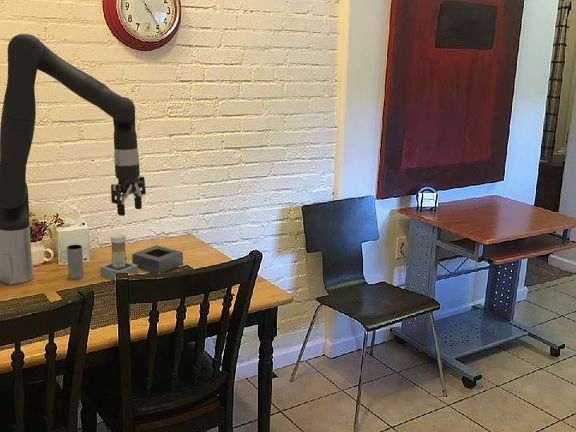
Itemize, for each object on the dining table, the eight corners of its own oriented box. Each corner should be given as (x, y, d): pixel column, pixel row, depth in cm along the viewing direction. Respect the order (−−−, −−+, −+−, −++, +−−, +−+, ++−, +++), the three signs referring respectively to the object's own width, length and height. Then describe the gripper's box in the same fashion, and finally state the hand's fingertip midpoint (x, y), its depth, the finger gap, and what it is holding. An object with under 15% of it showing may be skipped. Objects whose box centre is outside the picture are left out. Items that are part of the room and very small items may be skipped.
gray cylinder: (79, 273, 209) (77, 243, 206) (86, 277, 206) (84, 247, 203) (66, 276, 206) (64, 246, 203) (72, 280, 203) (71, 250, 200)
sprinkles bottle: (127, 272, 212) (126, 233, 208) (124, 277, 208) (123, 237, 204) (113, 271, 212) (112, 233, 208) (110, 276, 208) (109, 237, 204)
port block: (159, 274, 212) (158, 260, 210) (132, 266, 217) (132, 253, 216) (182, 264, 222) (183, 251, 220) (156, 257, 227) (156, 244, 226)
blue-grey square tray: (119, 281, 204) (118, 272, 204) (100, 275, 208) (100, 266, 208) (137, 273, 211) (137, 265, 210) (119, 268, 215) (119, 259, 215)
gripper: (131, 157, 209) (134, 205, 213) (102, 165, 196) (106, 216, 201) (150, 159, 206) (153, 208, 210) (122, 167, 193) (125, 219, 198)
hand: (130, 212), depth 205 cm, fingers open, 8 cm apart
